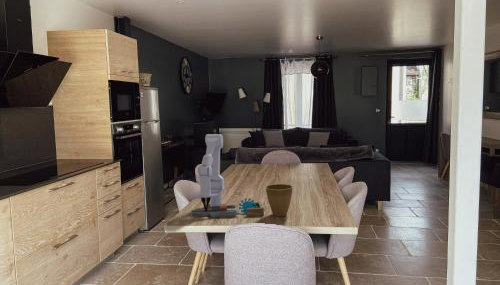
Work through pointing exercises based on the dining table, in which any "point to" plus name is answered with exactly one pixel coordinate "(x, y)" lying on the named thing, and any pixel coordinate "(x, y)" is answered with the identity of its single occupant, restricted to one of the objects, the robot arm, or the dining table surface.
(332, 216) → the dining table surface
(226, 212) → the socket
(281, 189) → the plant pot
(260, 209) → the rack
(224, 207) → the orange block
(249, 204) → the gear
